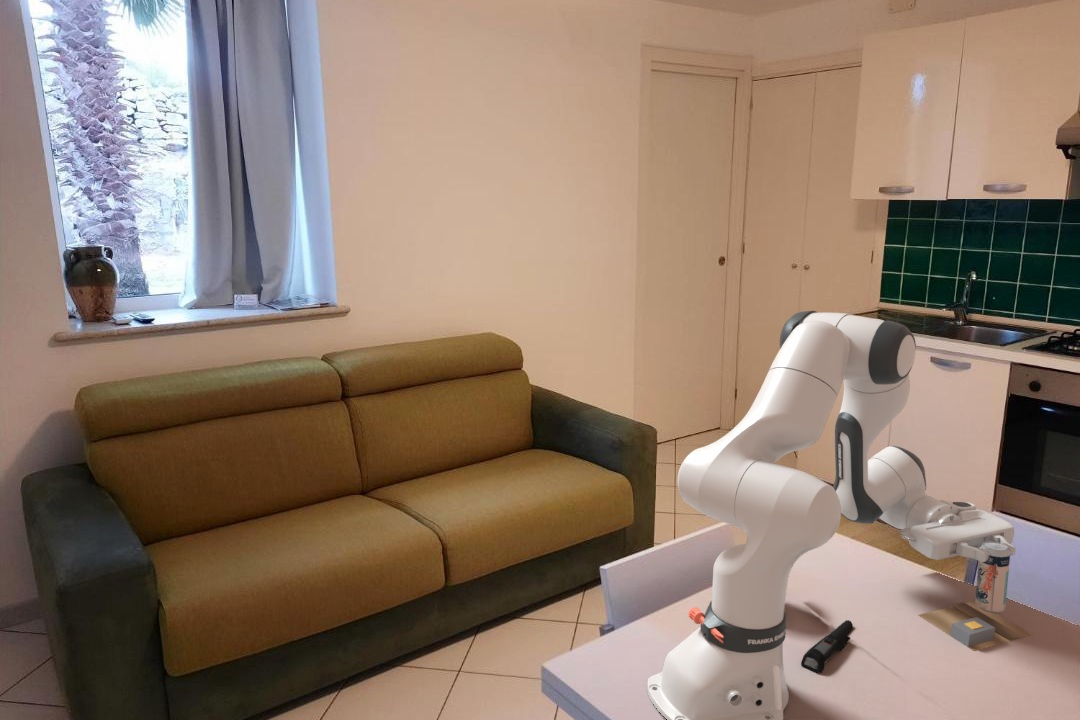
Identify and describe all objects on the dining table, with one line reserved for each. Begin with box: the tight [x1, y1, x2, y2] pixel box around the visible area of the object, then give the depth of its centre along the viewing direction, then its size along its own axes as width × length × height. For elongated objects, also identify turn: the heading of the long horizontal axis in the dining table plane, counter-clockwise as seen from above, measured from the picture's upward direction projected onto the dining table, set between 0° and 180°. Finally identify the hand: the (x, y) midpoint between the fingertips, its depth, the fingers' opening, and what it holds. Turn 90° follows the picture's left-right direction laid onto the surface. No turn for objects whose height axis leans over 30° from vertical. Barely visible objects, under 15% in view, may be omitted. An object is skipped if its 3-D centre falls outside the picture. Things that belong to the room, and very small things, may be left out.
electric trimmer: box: [800, 619, 854, 674], centre depth 132 cm, size 4×16×3 cm, turn 135°
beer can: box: [974, 541, 1011, 614], centre depth 136 cm, size 5×5×12 cm
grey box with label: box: [949, 617, 995, 648], centre depth 133 cm, size 6×4×3 cm, turn 110°
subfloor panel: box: [917, 600, 1033, 652], centre depth 137 cm, size 14×12×2 cm
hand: (999, 554), depth 134 cm, fingers closed on beer can, 5 cm apart
